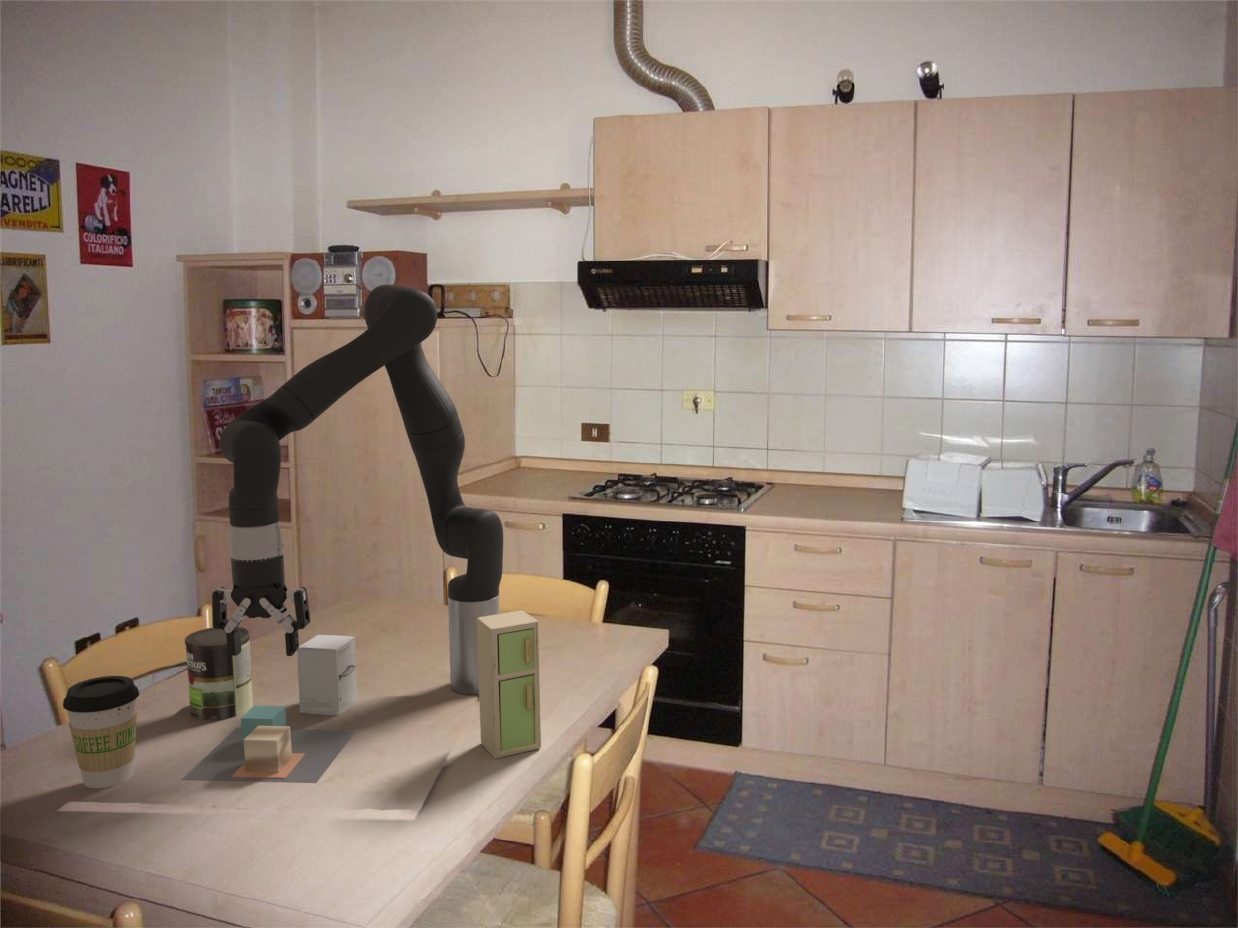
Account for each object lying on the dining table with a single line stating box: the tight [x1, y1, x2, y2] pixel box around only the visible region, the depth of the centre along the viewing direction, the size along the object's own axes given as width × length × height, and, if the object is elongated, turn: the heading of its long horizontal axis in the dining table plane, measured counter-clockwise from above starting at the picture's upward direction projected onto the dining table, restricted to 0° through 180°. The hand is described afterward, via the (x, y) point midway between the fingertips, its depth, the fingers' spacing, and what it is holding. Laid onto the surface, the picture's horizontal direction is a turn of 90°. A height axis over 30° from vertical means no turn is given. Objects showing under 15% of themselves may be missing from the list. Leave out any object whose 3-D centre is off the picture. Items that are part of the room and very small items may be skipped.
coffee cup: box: [62, 675, 140, 789], centre depth 143 cm, size 10×10×15 cm
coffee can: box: [184, 626, 254, 721], centre depth 169 cm, size 10×10×14 cm
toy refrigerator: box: [477, 610, 542, 760], centre depth 155 cm, size 8×7×21 cm
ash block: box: [244, 725, 292, 773], centre depth 148 cm, size 5×5×5 cm
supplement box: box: [296, 634, 358, 716], centre depth 170 cm, size 7×7×13 cm
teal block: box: [240, 705, 287, 749], centre depth 156 cm, size 5×5×5 cm
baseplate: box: [181, 727, 357, 784], centre depth 152 cm, size 20×18×1 cm
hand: (263, 654), depth 152 cm, fingers open, 8 cm apart
